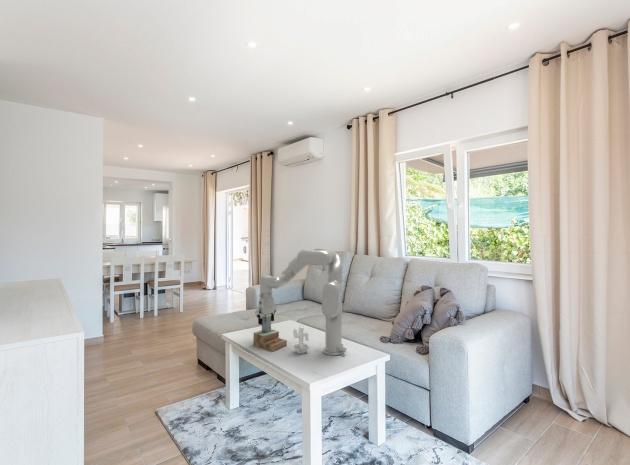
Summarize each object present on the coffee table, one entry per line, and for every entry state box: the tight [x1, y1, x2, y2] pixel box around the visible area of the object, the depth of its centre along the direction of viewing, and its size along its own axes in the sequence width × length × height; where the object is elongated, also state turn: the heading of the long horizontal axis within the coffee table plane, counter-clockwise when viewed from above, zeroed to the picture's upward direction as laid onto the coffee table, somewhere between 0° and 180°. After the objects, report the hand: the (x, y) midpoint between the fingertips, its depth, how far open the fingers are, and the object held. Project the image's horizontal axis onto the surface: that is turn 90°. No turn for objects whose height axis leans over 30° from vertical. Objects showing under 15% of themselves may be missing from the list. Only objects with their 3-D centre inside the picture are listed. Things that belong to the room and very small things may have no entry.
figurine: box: [292, 325, 310, 355], centre depth 195 cm, size 7×9×15 cm
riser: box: [253, 328, 288, 352], centre depth 206 cm, size 17×12×8 cm
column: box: [261, 313, 272, 333], centre depth 208 cm, size 4×4×12 cm
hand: (266, 322), depth 208 cm, fingers open, 9 cm apart
